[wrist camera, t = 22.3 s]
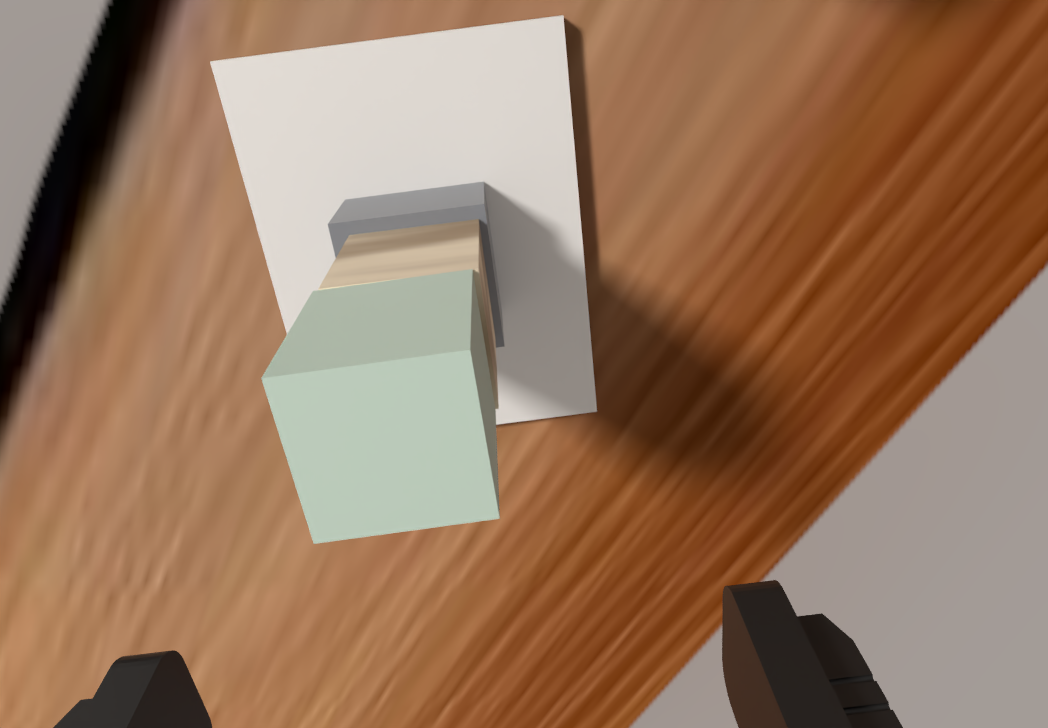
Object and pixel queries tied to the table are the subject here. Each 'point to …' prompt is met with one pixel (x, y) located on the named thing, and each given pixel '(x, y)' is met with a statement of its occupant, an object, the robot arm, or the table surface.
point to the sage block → (388, 408)
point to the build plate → (429, 178)
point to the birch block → (419, 265)
